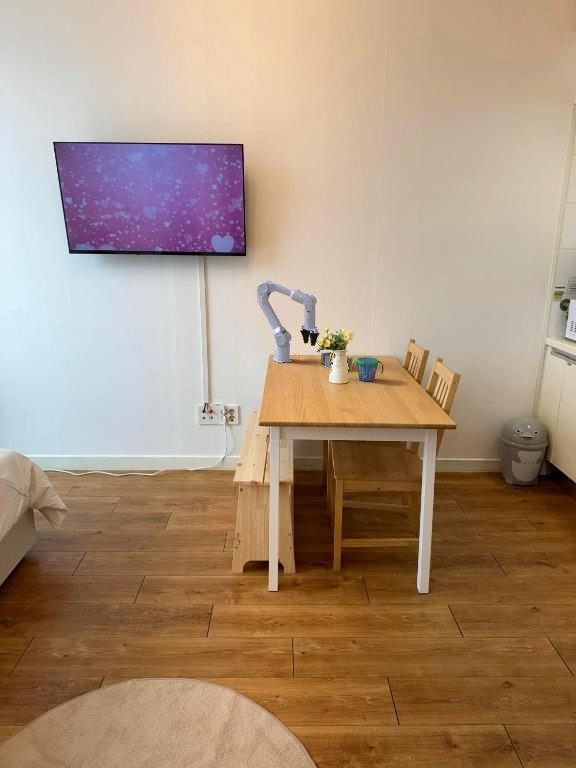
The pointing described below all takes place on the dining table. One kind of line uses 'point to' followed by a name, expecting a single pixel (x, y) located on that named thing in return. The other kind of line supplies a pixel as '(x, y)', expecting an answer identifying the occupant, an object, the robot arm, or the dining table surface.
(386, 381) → the dining table surface
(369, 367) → the snack cup
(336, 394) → the dining table surface
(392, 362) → the dining table surface
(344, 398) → the dining table surface
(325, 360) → the grey stepped block
